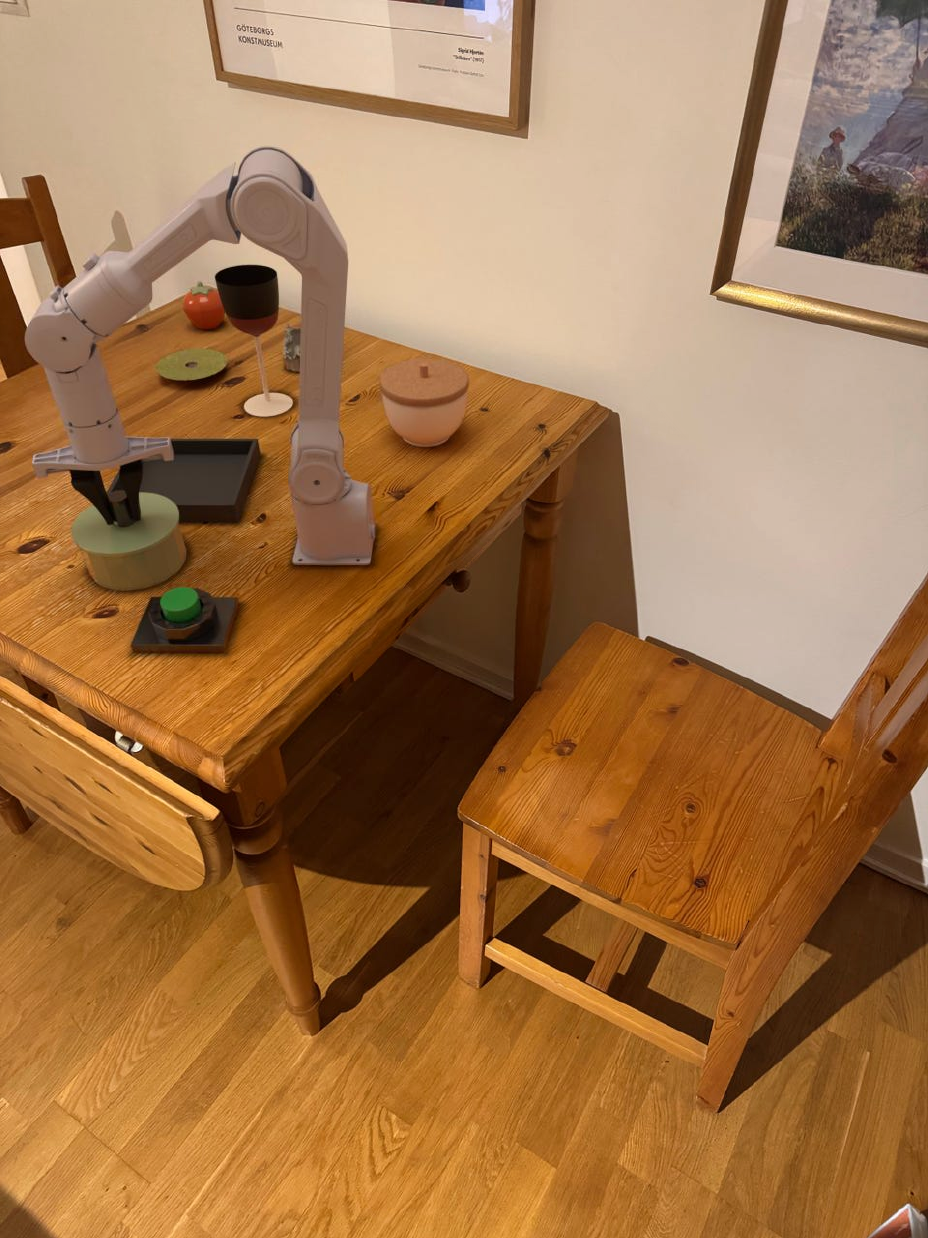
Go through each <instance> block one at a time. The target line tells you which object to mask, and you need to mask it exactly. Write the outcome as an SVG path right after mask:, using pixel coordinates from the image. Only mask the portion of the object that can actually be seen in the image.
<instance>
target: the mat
mask: <svg viewBox="0 0 928 1238" xmlns="http://www.w3.org/2000/svg"><path fill="white" fill-rule="evenodd" d="M227 364H228V359H227V357H226V355H225V354H224V353H222V352H220V351H218V350H215V349H210V348H203V347H202V348H188V349H182V350H179V351H176V352H173V353H170V354H169V355H166V356H165V357H162V359H160V360H159V361H158V362H157V364H156V367H155V368H156V372H157V374H159V375H160V376H161V377H164V378H165V379H168V380H173V381H185V382H186V381H195V380H196V381H197V380H201V379H204V378H207V377H211V376H213V375H216V374H217V373H219V372H221V371H222V370H223V369H224V368H225V367H226V366H227Z"/></svg>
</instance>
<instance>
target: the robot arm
mask: <svg viewBox="0 0 928 1238" xmlns="http://www.w3.org/2000/svg"><path fill="white" fill-rule="evenodd" d="M236 165H237V163H236V162H233V163H232V164H229V165H228V166H226V167H224V168H223V169H221V171H219V172H218V173H217V174H216V175H214V176H213V177H211V179H209V180H207V182H205V183H204V184H203V185H202V186H200V187H199V188H198V189H197V190H195V192H194V193H193V194H192V195H190V196H189V197H188V198H186V200H185V201H184V202H182V204H180V205H179V206H178V207H177V208H176V209H175V210H174V211H173V212H172V213H170V214H169V215H168V216H167V217H166V218H165V219H164V220H163V221H162V222H160V224H159V225H157V226H156V227H155V228H154V229H153V230H152V231H151V232H149V233H148V235H146V236H145V237H144V238H143V239H142V240H141V241H140V242H139V243H138V244H136V246H135V247H134V248H133V249H132V250H130V251H129V252H127V251H126V252H125V251H117V250H107V251H105V252H104V253H103V254H102V255H101V256H99V255H98V254H96V253H95V252H92V253H91V254H90V255H89V256H87V257H86V258H85V259H84V261H83V263H82V267H83V269H84V270H82V272H80V273H79V274H78V275H77V276H76V277H74V279H72V280H71V281H70V282H68V283H67V284H66V285H65V286H63V287H61V286H60V285H56V286H55V287H54V288H53V289H51V291H50V292H49V294H48V295H49V296H48V297H46V298H45V299H44V300H43V301H42V302H40V304H39V306H38V307H37V309H36V311H35V313H34V314H33V316H32V318H31V319H30V321H29V323H28V324H27V326H26V330H25V333H24V344H25V348H26V350H27V352H28V353H29V355H30V356H31V357H32V359H33V360H34V361H35V362H36V363H38V364H39V365H40V366H42V367H43V370H44V372H45V376H46V379H47V382H48V385H49V388H50V391H51V394H52V396H53V399H54V402H55V404H56V407H57V410H58V413H59V415H60V418H61V421H62V424H63V426H64V429H65V431H66V432H65V433H66V435H67V438H68V440H69V443H70V445H68V446H63V447H61V448H56V449H54V450H49V451H45V452H40V453H35V454H33V456H32V459H31V460H32V461H31V466H32V469H33V471H34V473H35V476H36V478H37V479H44V478H47V477H48V476H49V475H52V474H58V473H65V472H69V474H70V484H71V486H72V488H73V489H74V490H75V491H76V492H78V493H79V494H80V495H81V496H83V497H84V498H86V499H87V501H88V502H90V503H91V504H92V505H94V506H95V507H96V509H97V510H98V511H99V512H100V514H101V515H102V516H103V518H104V519H105V521H106V523H107V525H112V524H114V519H113V516H112V513H111V511H110V508H109V505H108V502H107V496H108V495H107V490H106V487H105V484H104V481H103V477H102V473H101V471H107V470H111V469H115V468H117V467H119V469H120V470H119V469H118V471H119V479H120V482H121V484H122V486H123V488H124V490H125V493H126V495H127V498H128V501H129V504H130V509H131V513H132V516H133V519H134V521H140V520H141V509H140V503H139V491H140V486H141V482H142V477H143V461H148V460H156V459H163V460H164V461H171V460H174V451H173V447H172V444H171V440H170V439H171V437H170V436H165V437H145V436H127V435H126V431H125V428H124V425H123V421H122V418H121V414H120V412H119V408H118V405H117V402H116V399H115V395H114V393H113V389H112V386H111V382H110V379H109V376H108V373H107V370H106V367H105V365H104V363H103V359H102V355H101V352H100V349H99V346H98V344H97V343H98V342H101V341H104V340H106V339H107V338H109V337H110V336H111V335H112V334H114V333H115V332H117V330H119V329H120V328H121V327H122V326H123V325H125V324H126V323H127V322H129V321H130V320H131V319H132V318H134V317H135V316H136V315H137V314H139V313H140V312H141V311H142V310H144V309H145V308H146V307H147V306H148V305H150V304H151V302H152V301H153V283H154V282H155V281H156V280H158V279H159V278H161V277H162V276H164V275H165V274H166V273H168V272H169V271H171V269H173V268H174V267H176V266H177V265H179V264H180V263H181V262H183V261H184V260H186V258H188V257H189V256H190V255H192V254H193V253H195V252H196V251H197V250H199V249H200V248H201V247H203V246H204V245H206V244H207V243H208V242H210V241H219V242H224V243H228V244H232V245H239V244H240V242H241V237H242V236H243V237H244V238H246V239H247V240H248V241H250V243H253V244H254V245H256V246H259V247H260V248H262V249H264V250H267V251H269V252H271V253H273V254H274V255H277V256H279V257H281V258H283V259H284V260H285V261H286V262H288V263H289V264H290V265H291V266H292V268H294V269H295V270H296V271H297V272H298V273H299V274H300V275H301V301H300V304H301V305H300V330H301V340H300V372H299V384H298V385H299V386H298V387H299V389H298V420H297V422H296V423H295V425H294V427H293V429H292V430H291V433H290V437H289V444H290V464H289V470H288V475H287V476H288V477H287V482H288V487H289V491H290V497H291V503H292V510H293V517H294V522H295V528H296V533H297V539H296V544H295V548H294V552H293V556H292V560H291V563H292V565H294V566H369V565H370V564H371V561H372V554H373V547H374V541H375V538H376V525H375V517H374V516H375V515H374V504H373V494H372V488H371V484H370V483H368V482H363V481H357V480H355V479H352V478H351V475H350V473H348V472H347V469H346V468H345V465H344V463H345V462H344V461H345V460H344V447H345V437H344V434H343V432H342V429H341V428H340V411H341V394H342V375H343V361H344V360H343V359H344V342H345V324H346V312H347V311H346V308H347V307H346V306H347V292H348V275H349V252H348V245H347V242H346V240H345V238H344V236H343V234H342V232H341V231H340V229H339V226H338V225H337V223H336V221H335V219H334V217H333V215H332V213H331V212H330V210H329V208H328V206H327V204H326V203H325V200H324V199H323V197H322V194H321V193H320V190H319V188H318V185H317V183H316V181H315V178H314V176H313V174H312V173H311V172H310V171H308V169H306V167H304V166H303V165H302V164H301V163H300V162H299V161H298V160H297V159H296V158H295V157H293V155H291V154H290V153H289V152H287V151H286V150H285V149H282V148H280V147H277V146H273V145H261V146H257V147H255V148H253V149H251V150H249V151H248V152H247V153H246V154H245V155H244V157H243V158H242V159H241V161H240V163H239V166H238V170H237V175H234V173H235V169H236Z"/></svg>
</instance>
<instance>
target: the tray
mask: <svg viewBox="0 0 928 1238" xmlns="http://www.w3.org/2000/svg"><path fill="white" fill-rule="evenodd" d="M170 440H171V444H172V447H173V451H174V460H171V461H164V460H163V459H156V460H148V461H143V477H142V482H141V486H140V491H139V492H143V493H153V494H158V495H161V496H164V497H166V498H168V499H170V500H171V501H172V502H173V503H174V504H175V505H176V506H177V508H178V511H179V516H180V519H179V523H239V521H240V518H241V515H242V512H243V509H244V506H245V504H246V501H247V498H248V494H249V493H250V489H251V486H252V483H253V480H254V477H255V475H256V472H257V468H258V466H259V462H260V460H261V457H262V453H261V448H260V443H259V439H258V438H170ZM119 470H120V468H119V469H118V471H117V473H116V474H115V476H114V479H113V480H112V482H111V484H110V485H109V487H108V489H107V490H106V492H107V495H108V494H110V493H111V492H114V491H119V490H122V491H125V490H124V488H123V486H122V484H121V482H120V479H119Z"/></svg>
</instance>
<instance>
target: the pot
mask: <svg viewBox="0 0 928 1238" xmlns="http://www.w3.org/2000/svg"><path fill="white" fill-rule="evenodd" d="M79 550H80V553H81V555H82V558H83V560H84V563H85V566H86V568H87V571H88V573H89V575H90V577H91V578H92V579H93V581H94V582H95V583H96V584H98V585H99V586H101V587H103V588H104V589H105V588H106V589H109V590H113V591H120V592H121V591H123V592H124V591H125V592H128V591H130V592H131V591H138V590H143V589H147V588H151V587H153V586H157V585H159V584H161V583H163V582H165V581H167V580H169V579H170V578H171V577H173V576H174V575H175V574H176V573H177V572H179V570H180V569H181V568H182V567H183V565H184V563H185V561H186V560H187V548H186V545H185V540H184V537H183V533H182V530H181V527H180V522H179V523H178V526H177V528H176V529H175V531H174V532H173V533H172V534H171V535H170V536H169V537H168V538H167V539H166V540H164V541H163V542H161V543H160V544H158V545H156V546H154V547H152V548H150V549H148V550H145V551H142V552H139V553H136V554H132V555H126V556H119V557H103V556H97V555H93V554H89V553H87V552H85V551H83V550H81V549H80V548H79Z"/></svg>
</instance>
